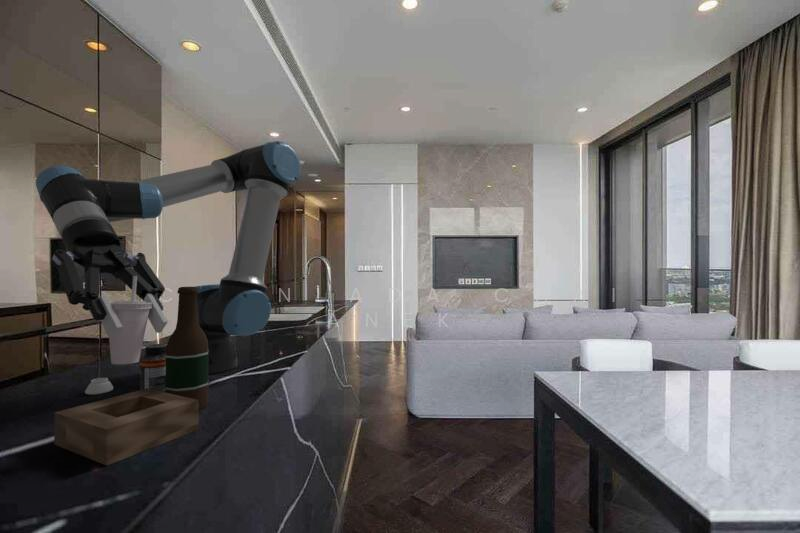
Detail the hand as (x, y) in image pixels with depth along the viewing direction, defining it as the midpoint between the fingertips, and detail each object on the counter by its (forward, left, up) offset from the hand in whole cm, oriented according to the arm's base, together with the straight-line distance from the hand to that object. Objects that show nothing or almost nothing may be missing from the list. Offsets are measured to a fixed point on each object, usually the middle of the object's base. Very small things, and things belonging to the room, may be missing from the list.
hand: (140, 329), depth 62 cm
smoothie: (0, -3, -6) cm, 7 cm away
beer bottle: (-13, -8, -18) cm, 24 cm away
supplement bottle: (-14, -19, -18) cm, 30 cm away
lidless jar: (-11, -36, -18) cm, 42 cm away
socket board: (0, -3, -18) cm, 18 cm away
